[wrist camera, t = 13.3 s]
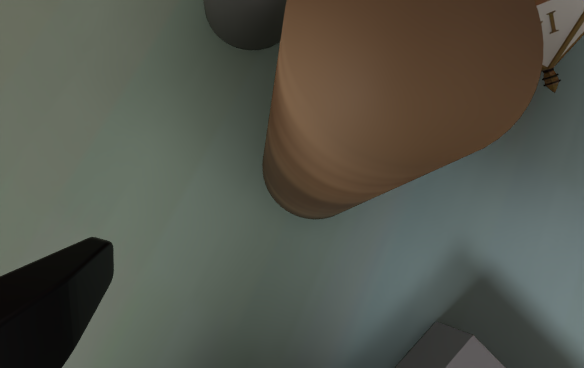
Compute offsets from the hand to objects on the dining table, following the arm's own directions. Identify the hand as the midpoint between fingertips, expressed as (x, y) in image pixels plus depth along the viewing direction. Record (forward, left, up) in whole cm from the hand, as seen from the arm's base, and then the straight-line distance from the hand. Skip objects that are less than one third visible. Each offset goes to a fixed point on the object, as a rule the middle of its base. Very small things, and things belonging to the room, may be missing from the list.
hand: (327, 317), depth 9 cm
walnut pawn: (+4, +3, -10) cm, 11 cm away
